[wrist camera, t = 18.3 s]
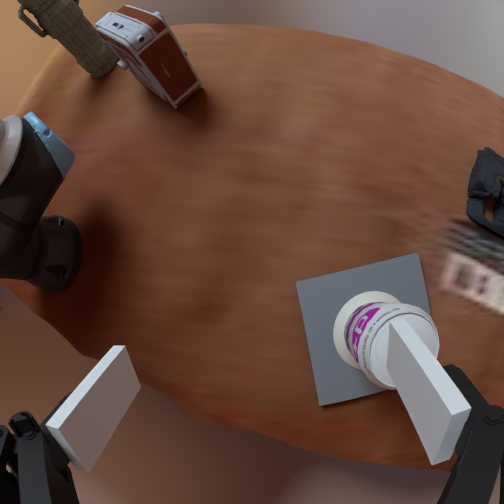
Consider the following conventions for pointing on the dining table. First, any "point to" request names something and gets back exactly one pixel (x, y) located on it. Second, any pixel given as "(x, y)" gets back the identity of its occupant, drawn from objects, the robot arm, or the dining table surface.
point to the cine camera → (150, 53)
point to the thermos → (71, 33)
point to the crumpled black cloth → (487, 189)
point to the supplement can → (384, 336)
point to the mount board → (338, 311)
